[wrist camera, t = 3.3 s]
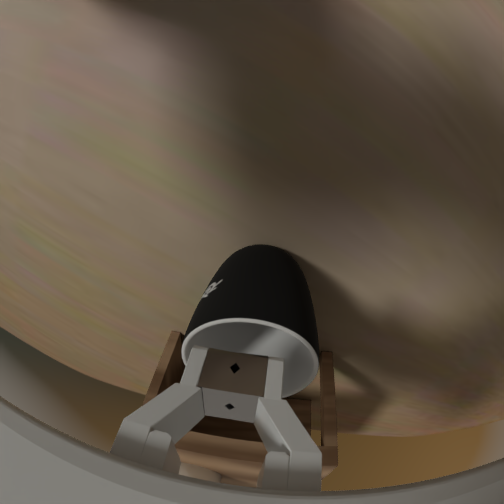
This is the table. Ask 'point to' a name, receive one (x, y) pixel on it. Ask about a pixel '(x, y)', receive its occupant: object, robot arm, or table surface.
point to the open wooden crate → (243, 425)
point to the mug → (259, 313)
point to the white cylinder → (199, 472)
